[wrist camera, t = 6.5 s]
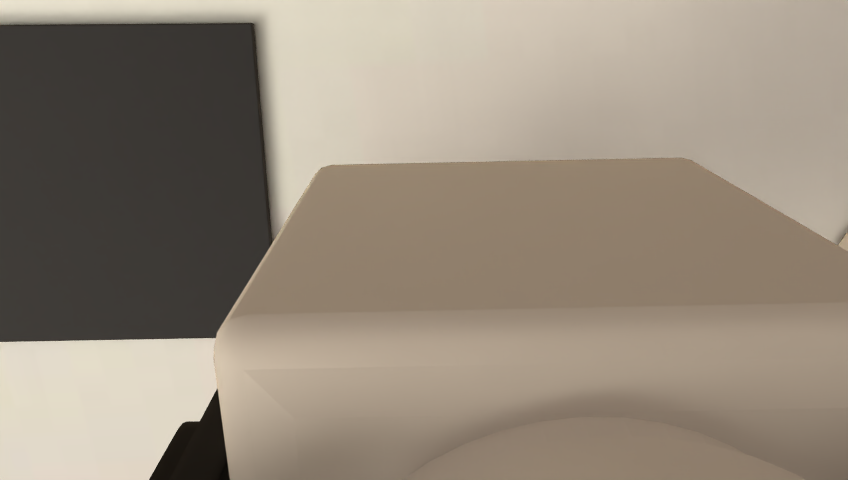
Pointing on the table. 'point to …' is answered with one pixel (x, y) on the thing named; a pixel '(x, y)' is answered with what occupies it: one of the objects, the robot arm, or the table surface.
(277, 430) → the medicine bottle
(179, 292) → the desk mat
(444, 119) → the table surface
